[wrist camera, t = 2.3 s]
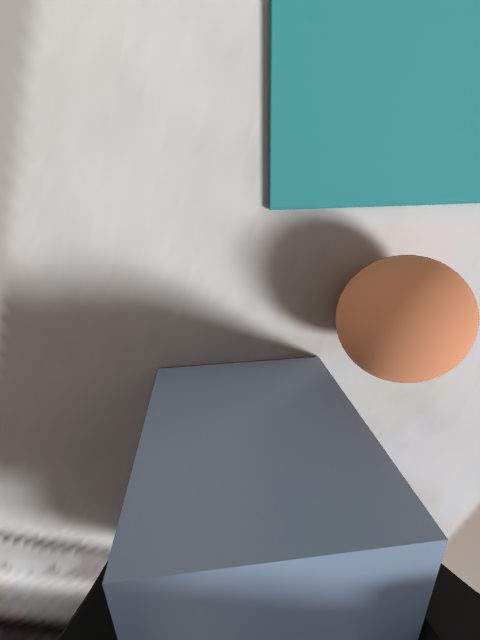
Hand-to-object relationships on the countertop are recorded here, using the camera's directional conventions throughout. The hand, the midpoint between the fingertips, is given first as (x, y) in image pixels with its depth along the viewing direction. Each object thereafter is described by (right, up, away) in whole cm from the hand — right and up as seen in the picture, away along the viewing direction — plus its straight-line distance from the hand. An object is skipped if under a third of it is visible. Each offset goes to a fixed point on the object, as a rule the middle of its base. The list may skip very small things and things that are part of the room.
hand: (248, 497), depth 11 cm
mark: (+4, +13, -3) cm, 14 cm away
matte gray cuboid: (0, +1, +2) cm, 2 cm away
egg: (+4, +6, -2) cm, 8 cm away
